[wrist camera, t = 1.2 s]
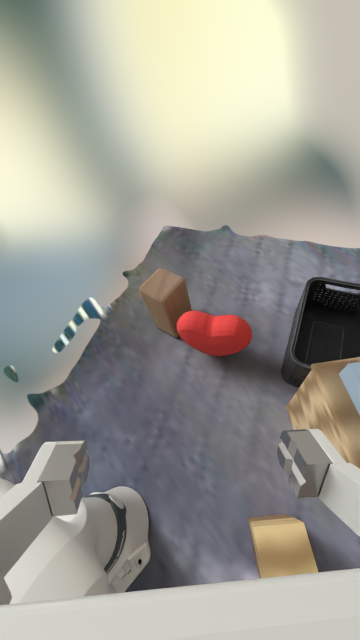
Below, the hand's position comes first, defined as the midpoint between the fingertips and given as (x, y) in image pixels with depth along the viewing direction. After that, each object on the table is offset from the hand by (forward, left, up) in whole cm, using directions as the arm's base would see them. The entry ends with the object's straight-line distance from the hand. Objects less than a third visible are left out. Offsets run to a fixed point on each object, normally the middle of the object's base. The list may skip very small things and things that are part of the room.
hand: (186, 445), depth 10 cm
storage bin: (+44, -8, -56) cm, 72 cm away
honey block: (-3, -13, -49) cm, 50 cm away
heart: (+27, +18, -56) cm, 65 cm away
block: (+30, +36, -56) cm, 73 cm away
